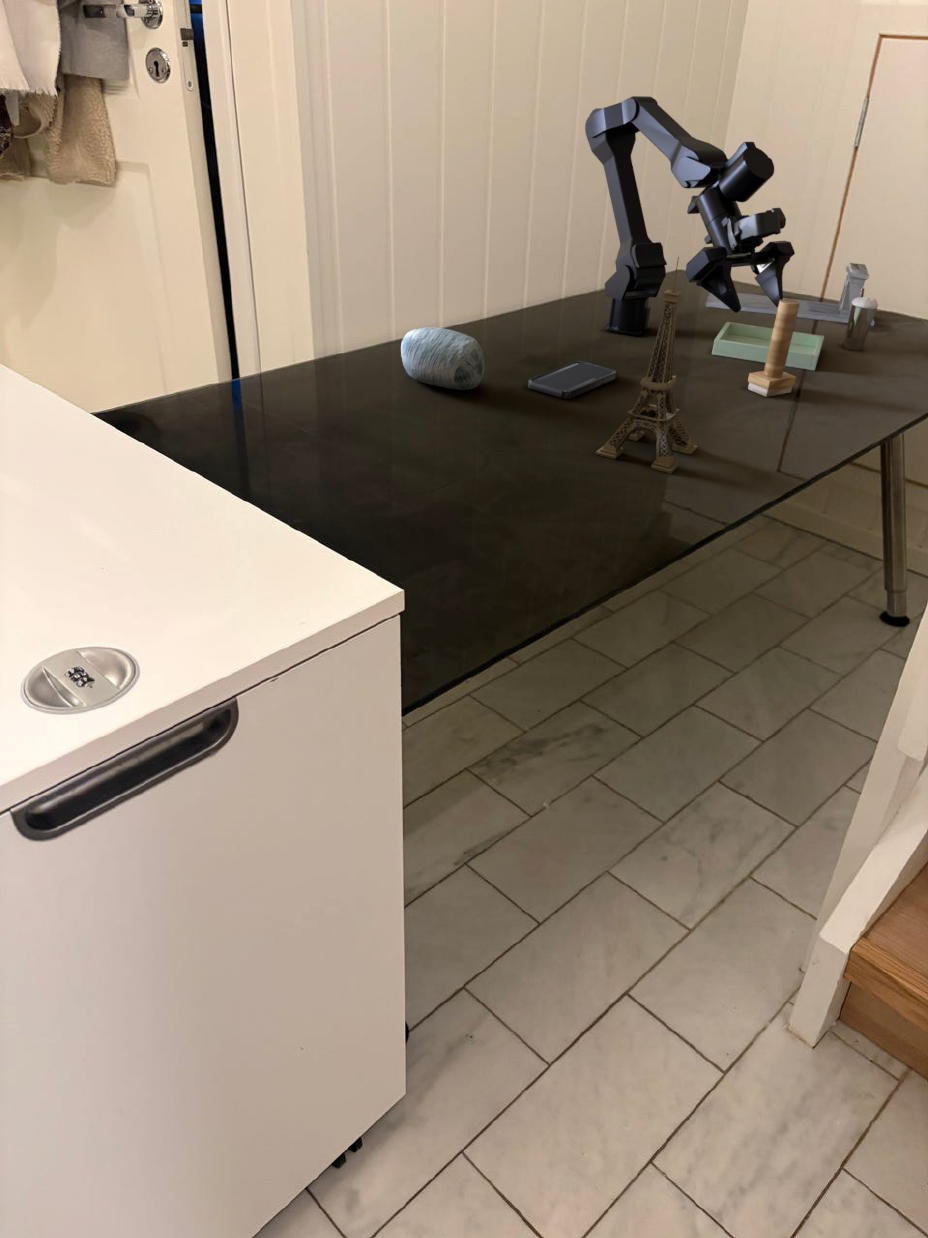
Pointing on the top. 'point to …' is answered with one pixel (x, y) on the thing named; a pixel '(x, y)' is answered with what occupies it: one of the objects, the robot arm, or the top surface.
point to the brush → (777, 354)
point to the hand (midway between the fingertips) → (759, 308)
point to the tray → (766, 345)
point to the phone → (572, 379)
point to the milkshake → (859, 321)
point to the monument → (808, 308)
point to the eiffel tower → (665, 411)
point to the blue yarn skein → (443, 358)
